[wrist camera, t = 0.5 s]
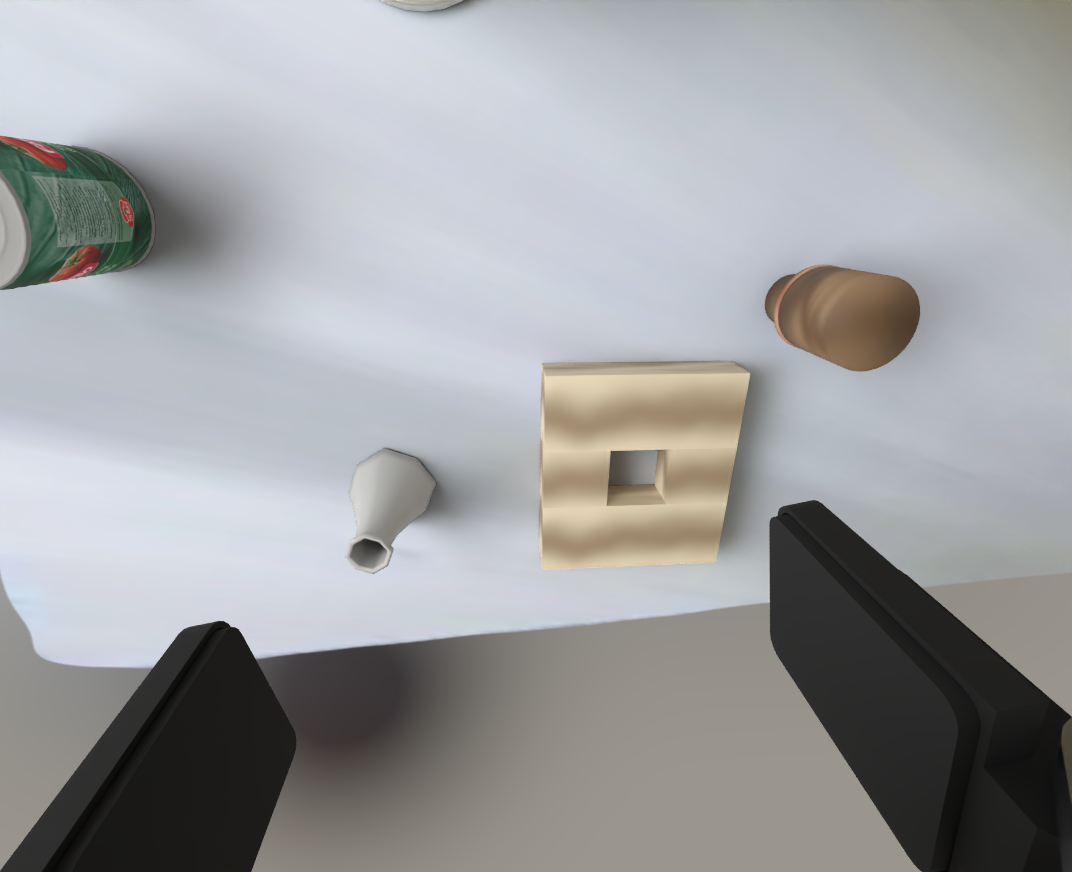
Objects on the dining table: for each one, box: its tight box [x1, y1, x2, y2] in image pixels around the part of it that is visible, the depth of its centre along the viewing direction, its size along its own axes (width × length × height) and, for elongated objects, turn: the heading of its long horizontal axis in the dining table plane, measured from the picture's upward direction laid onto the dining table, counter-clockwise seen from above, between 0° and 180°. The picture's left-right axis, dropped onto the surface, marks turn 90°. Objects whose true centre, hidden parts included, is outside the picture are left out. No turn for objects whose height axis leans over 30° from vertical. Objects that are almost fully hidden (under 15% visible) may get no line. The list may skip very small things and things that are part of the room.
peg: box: [765, 265, 920, 371], centre depth 37 cm, size 6×6×10 cm
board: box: [539, 361, 751, 570], centre depth 45 cm, size 18×16×4 cm
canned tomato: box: [0, 136, 156, 290], centre depth 30 cm, size 8×8×11 cm
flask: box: [345, 448, 436, 574], centre depth 41 cm, size 7×7×10 cm
